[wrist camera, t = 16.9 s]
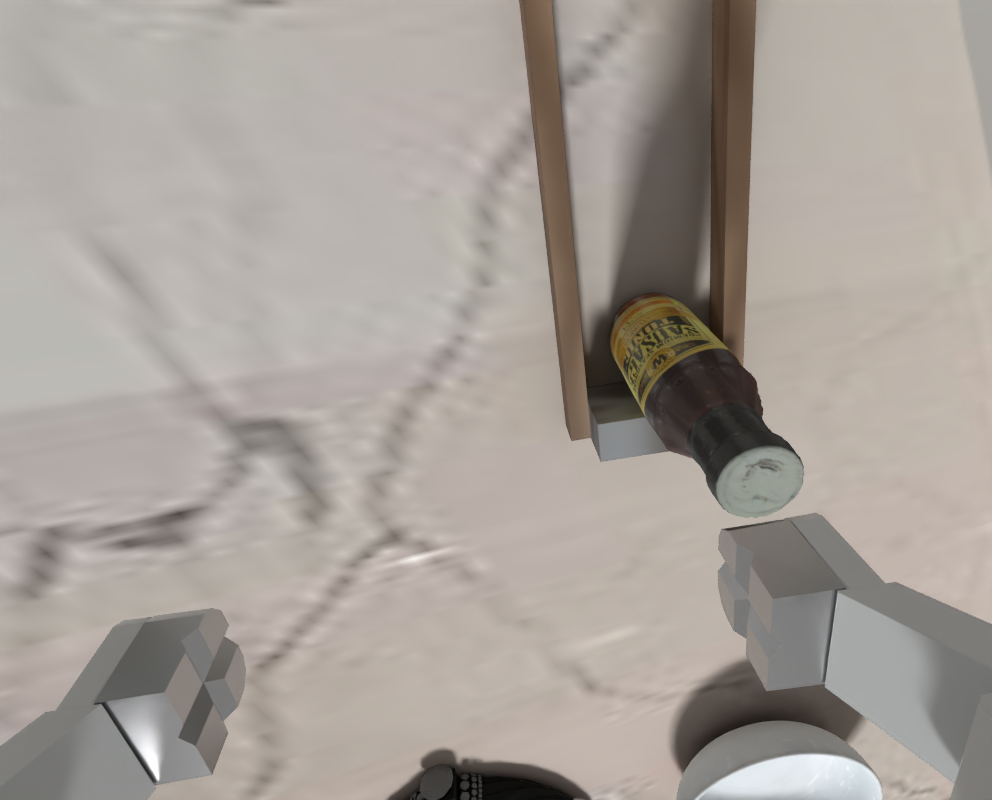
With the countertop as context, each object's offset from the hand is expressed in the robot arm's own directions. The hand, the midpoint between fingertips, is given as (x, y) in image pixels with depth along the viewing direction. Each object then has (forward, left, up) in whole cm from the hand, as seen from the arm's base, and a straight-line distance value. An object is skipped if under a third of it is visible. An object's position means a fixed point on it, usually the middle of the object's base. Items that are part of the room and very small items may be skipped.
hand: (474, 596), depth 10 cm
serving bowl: (+22, -62, -34) cm, 74 cm away
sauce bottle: (+12, -9, -34) cm, 38 cm away
